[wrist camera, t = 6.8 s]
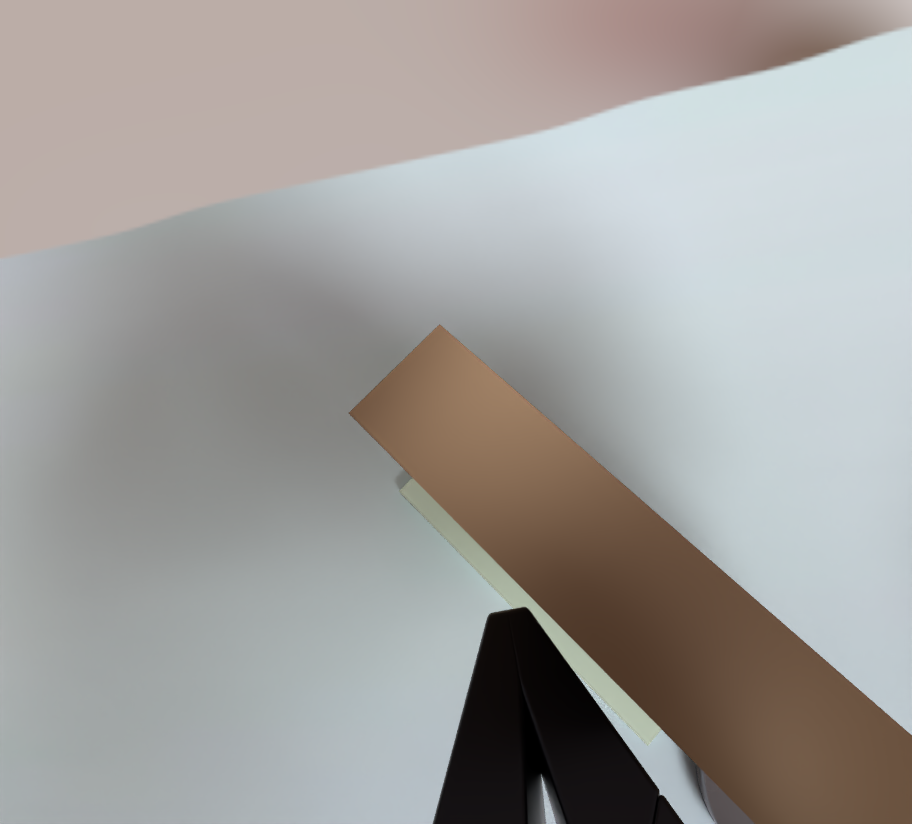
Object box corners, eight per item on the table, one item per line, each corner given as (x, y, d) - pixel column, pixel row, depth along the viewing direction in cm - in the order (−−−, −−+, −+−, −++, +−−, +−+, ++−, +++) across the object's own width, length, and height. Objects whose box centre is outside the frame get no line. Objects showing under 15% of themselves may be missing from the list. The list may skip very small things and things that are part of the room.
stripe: (733, 631, 13) (738, 634, 13) (644, 741, 13) (647, 746, 13) (482, 407, 16) (482, 404, 16) (400, 492, 16) (398, 491, 15)
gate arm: (746, 685, 12) (1105, 902, 5) (698, 746, 12) (999, 1069, 5) (471, 429, 15) (439, 324, 7) (426, 475, 14) (348, 413, 7)
